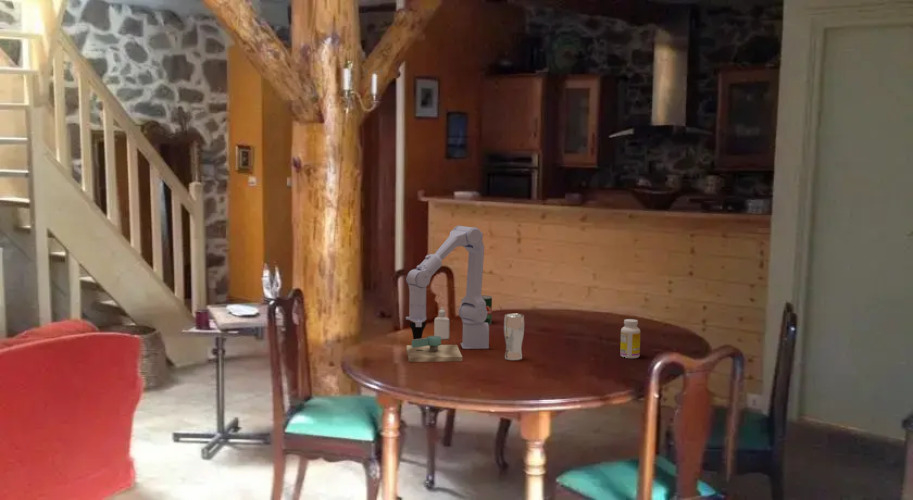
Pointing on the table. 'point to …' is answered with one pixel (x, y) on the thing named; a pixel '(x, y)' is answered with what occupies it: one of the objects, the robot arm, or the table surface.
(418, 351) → the post base
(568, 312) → the table surface
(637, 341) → the supplement bottle
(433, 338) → the knob
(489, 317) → the canned tomato
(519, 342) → the beer glass
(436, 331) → the eye dropper bottle
